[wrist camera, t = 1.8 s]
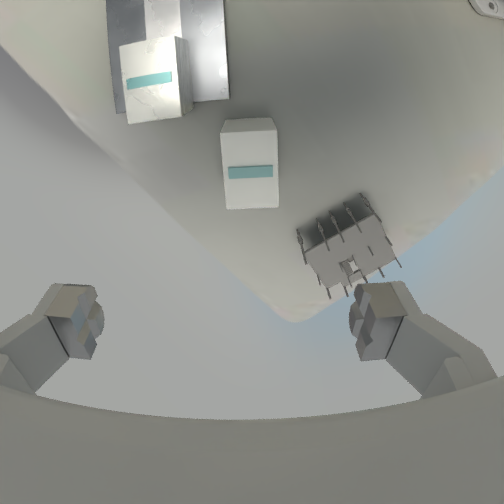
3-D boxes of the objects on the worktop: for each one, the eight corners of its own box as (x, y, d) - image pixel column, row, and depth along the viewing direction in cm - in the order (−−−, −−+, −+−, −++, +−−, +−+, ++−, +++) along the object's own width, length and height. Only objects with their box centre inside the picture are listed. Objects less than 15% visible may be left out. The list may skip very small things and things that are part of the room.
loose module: (271, 117, 26) (277, 131, 21) (273, 180, 29) (279, 208, 24) (225, 119, 26) (219, 134, 21) (230, 182, 30) (226, 211, 24)
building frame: (384, 236, 33) (404, 268, 28) (321, 270, 35) (332, 307, 30) (361, 190, 30) (382, 218, 25) (293, 230, 32) (301, 263, 27)
